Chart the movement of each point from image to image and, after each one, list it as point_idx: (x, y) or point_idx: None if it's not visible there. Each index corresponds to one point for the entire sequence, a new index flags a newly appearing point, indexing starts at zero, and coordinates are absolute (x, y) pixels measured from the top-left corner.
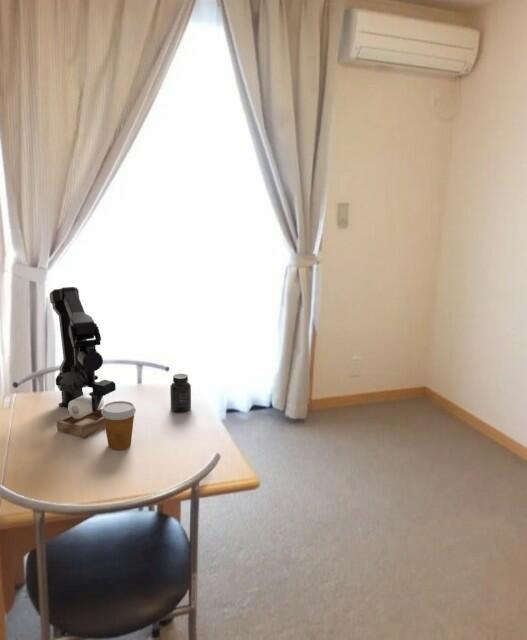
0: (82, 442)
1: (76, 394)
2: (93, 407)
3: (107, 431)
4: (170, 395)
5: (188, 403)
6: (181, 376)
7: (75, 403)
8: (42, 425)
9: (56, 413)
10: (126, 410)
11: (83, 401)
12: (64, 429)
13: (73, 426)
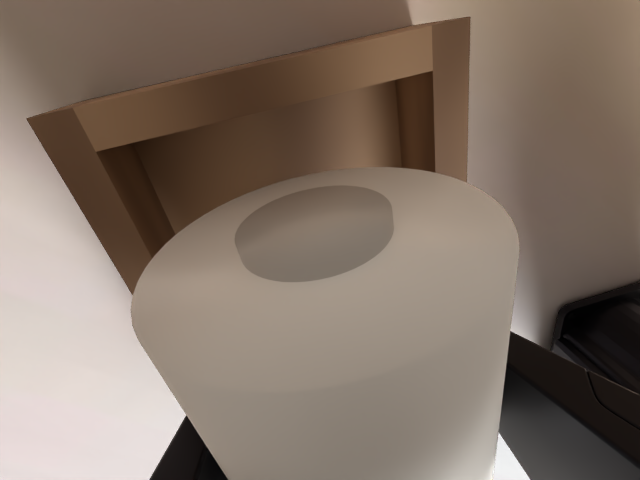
0: (4, 27)
1: (586, 467)
2: (191, 427)
3: None
4: None
5: None
6: None
7: (343, 310)
8: (602, 15)
9: (617, 214)
10: None
11: (243, 458)
12: (339, 43)
13: (212, 75)
